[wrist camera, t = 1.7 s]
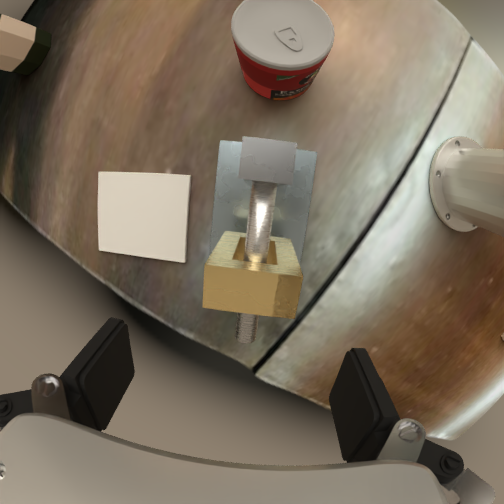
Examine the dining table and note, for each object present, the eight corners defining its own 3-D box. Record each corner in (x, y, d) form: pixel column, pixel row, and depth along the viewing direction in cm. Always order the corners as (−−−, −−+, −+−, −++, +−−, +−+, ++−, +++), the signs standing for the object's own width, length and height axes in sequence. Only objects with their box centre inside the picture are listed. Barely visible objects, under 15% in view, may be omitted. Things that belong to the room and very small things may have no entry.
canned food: (278, 115, 27) (285, 87, 16) (227, 69, 25) (207, 24, 15) (327, 75, 25) (356, 35, 14) (276, 31, 23) (280, -23, 13)
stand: (315, 152, 27) (358, 141, 14) (293, 290, 32) (309, 371, 19) (222, 141, 28) (183, 119, 14) (209, 280, 32) (174, 355, 19)
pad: (191, 175, 29) (190, 175, 28) (186, 261, 32) (184, 262, 31) (101, 171, 29) (98, 171, 28) (101, 248, 32) (99, 250, 31)
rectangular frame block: (290, 238, 25) (303, 276, 16) (285, 269, 26) (294, 318, 17) (225, 230, 25) (204, 264, 17) (222, 261, 26) (202, 307, 17)
